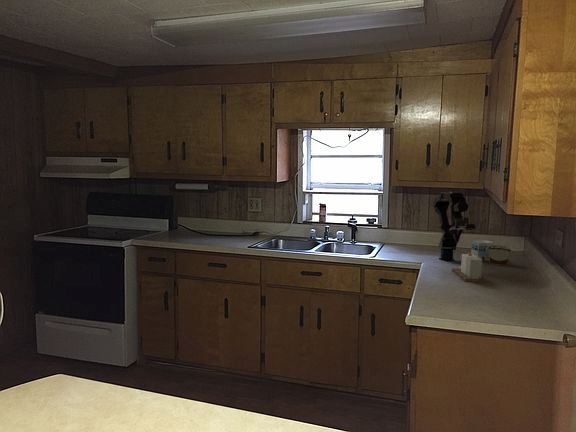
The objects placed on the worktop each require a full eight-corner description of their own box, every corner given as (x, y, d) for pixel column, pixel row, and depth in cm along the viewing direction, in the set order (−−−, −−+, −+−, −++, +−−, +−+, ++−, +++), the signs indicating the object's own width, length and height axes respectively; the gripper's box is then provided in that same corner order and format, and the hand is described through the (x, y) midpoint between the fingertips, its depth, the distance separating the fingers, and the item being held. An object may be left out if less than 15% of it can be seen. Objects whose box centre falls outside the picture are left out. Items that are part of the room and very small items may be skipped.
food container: (511, 264, 273) (512, 246, 272) (510, 266, 268) (511, 248, 267) (488, 261, 279) (489, 244, 278) (486, 263, 274) (487, 246, 273)
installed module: (465, 274, 240) (466, 256, 239) (476, 275, 240) (477, 257, 238) (469, 277, 234) (470, 259, 233) (481, 278, 234) (482, 259, 232)
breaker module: (460, 271, 247) (462, 251, 246) (471, 271, 247) (473, 251, 245) (465, 274, 240) (466, 254, 239) (476, 274, 240) (477, 254, 238)
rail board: (451, 270, 255) (452, 266, 255) (470, 271, 255) (471, 266, 254) (464, 281, 234) (464, 276, 234) (485, 281, 234) (485, 276, 233)
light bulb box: (477, 261, 280) (478, 242, 278) (470, 258, 286) (471, 240, 285) (493, 260, 282) (494, 242, 281) (485, 257, 289) (486, 240, 287)
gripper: (443, 212, 259) (444, 241, 257) (478, 212, 259) (479, 241, 257) (437, 214, 270) (438, 242, 268) (471, 215, 270) (472, 243, 268)
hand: (457, 242), depth 265 cm, fingers closed
